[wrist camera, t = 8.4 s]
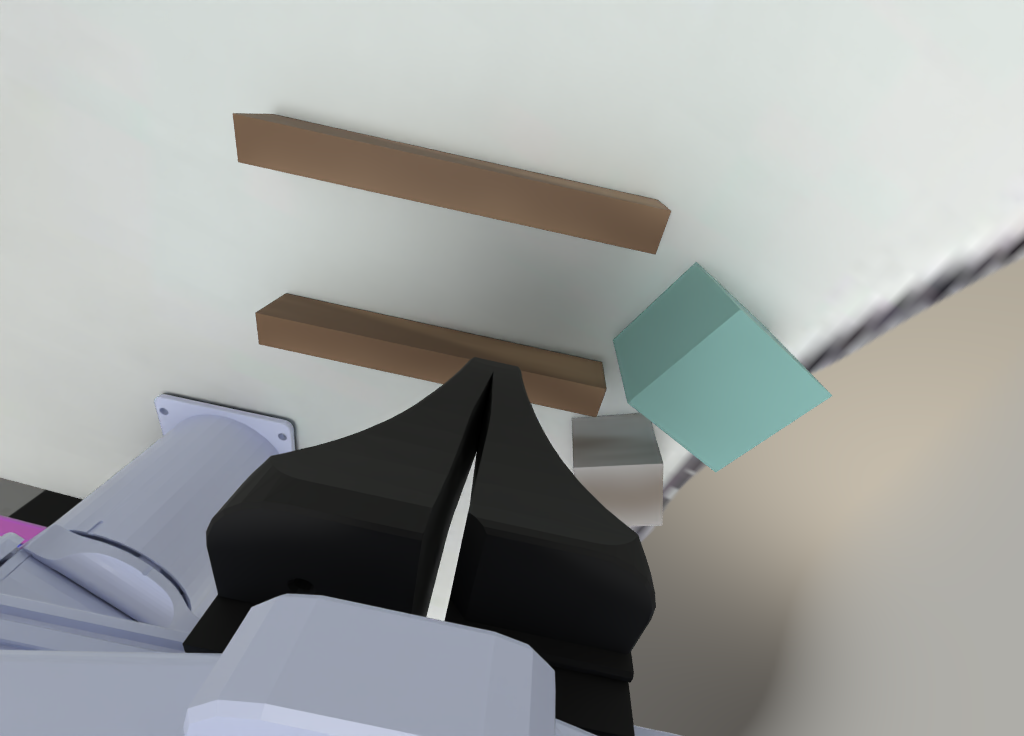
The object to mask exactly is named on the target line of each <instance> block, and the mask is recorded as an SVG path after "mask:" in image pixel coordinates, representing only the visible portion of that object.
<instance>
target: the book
mask: <svg viewBox="0 0 1024 736" xmlns="http://www.w3.org/2000/svg"><path fill="white" fill-rule="evenodd" d="M81 501H82V499H78V498H75V497H71V496H67V495H63V494H59V493H56V492H52V491H48V490H44V489H41V488H37V487H33V486H29V485H25V484H22V483H18V482H14V481H10V480H7V479H3V478H0V536H3V535H4V534H6V533H9V532H13V533H15V534H17V535H19V536H20V537H22V538H23V539H25V540H23V541H22V542H21V543H20V544H19V545H18V546H17V547H20V546H21V545H23V544H24V543H26V542H27V541H29V540H30V539H32V538H33V537H34V536H36V535H37V534H39V533H40V532H42V531H43V530H45V529H46V528H47V527H49V526H50V525H52V524H53V523H55V522H56V521H57V520H58V519H60V518H61V517H62V516H63V515H65V514H66V513H67V512H68V511H70V510H71V509H72V508H73V507H75V506H76V505H77V504H78V503H80V502H81Z"/></svg>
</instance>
